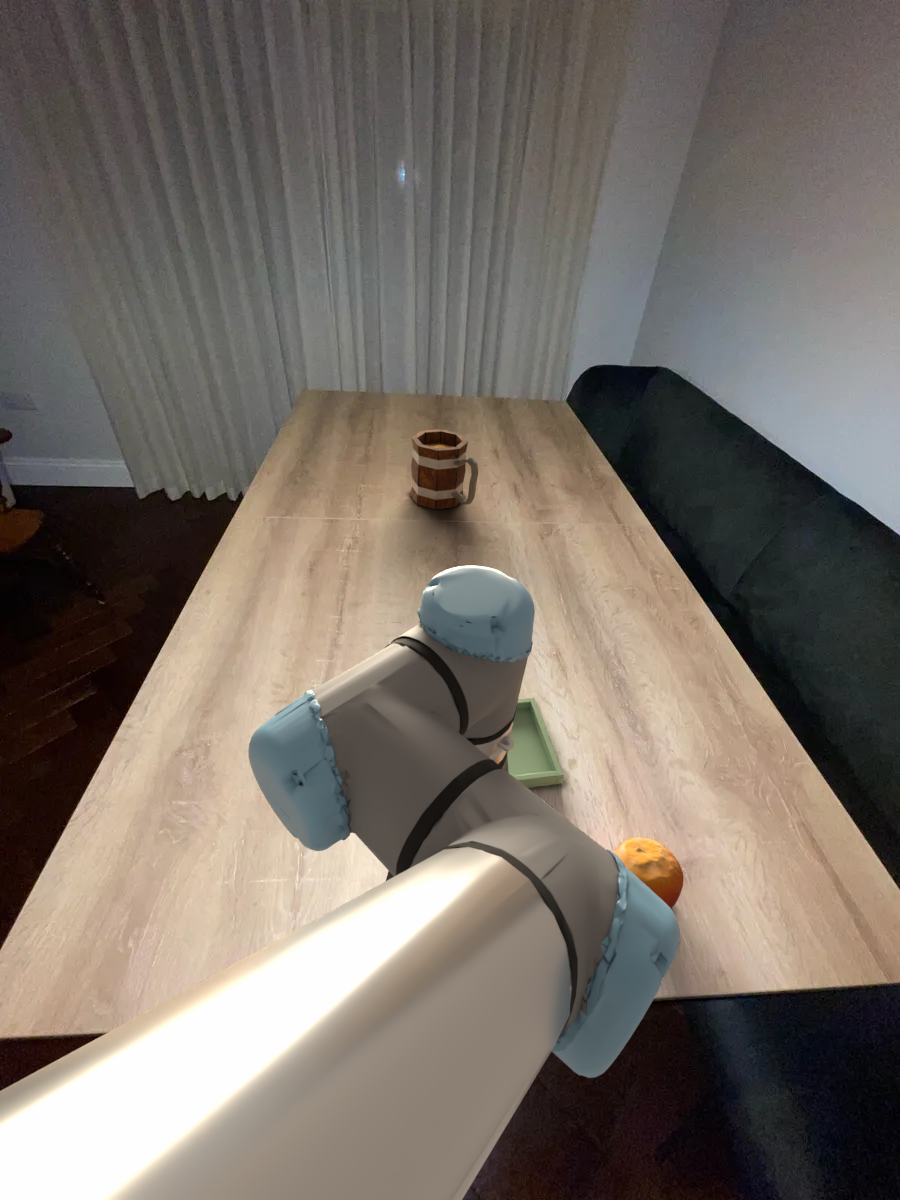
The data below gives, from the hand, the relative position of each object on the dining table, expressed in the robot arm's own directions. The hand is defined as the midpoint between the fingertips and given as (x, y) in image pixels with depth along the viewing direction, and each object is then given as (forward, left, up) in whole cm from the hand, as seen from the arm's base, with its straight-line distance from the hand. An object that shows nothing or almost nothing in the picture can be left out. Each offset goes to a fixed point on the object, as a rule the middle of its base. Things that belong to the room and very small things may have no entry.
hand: (447, 868), depth 57 cm
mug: (+15, +92, -5) cm, 93 cm away
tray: (+10, +18, -5) cm, 21 cm away
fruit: (+22, -3, -5) cm, 23 cm away
